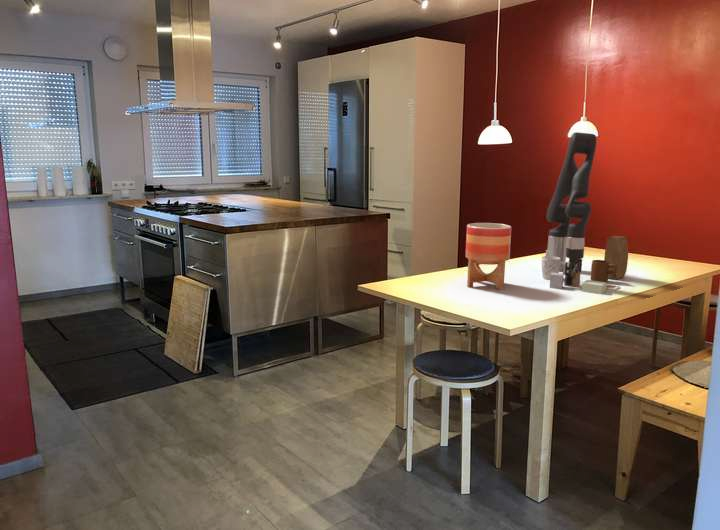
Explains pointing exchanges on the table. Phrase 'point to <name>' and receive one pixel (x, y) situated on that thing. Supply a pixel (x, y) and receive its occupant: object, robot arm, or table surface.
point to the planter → (487, 251)
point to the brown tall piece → (617, 255)
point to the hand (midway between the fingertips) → (572, 283)
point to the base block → (594, 286)
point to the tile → (612, 287)
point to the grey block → (556, 280)
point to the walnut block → (574, 280)
